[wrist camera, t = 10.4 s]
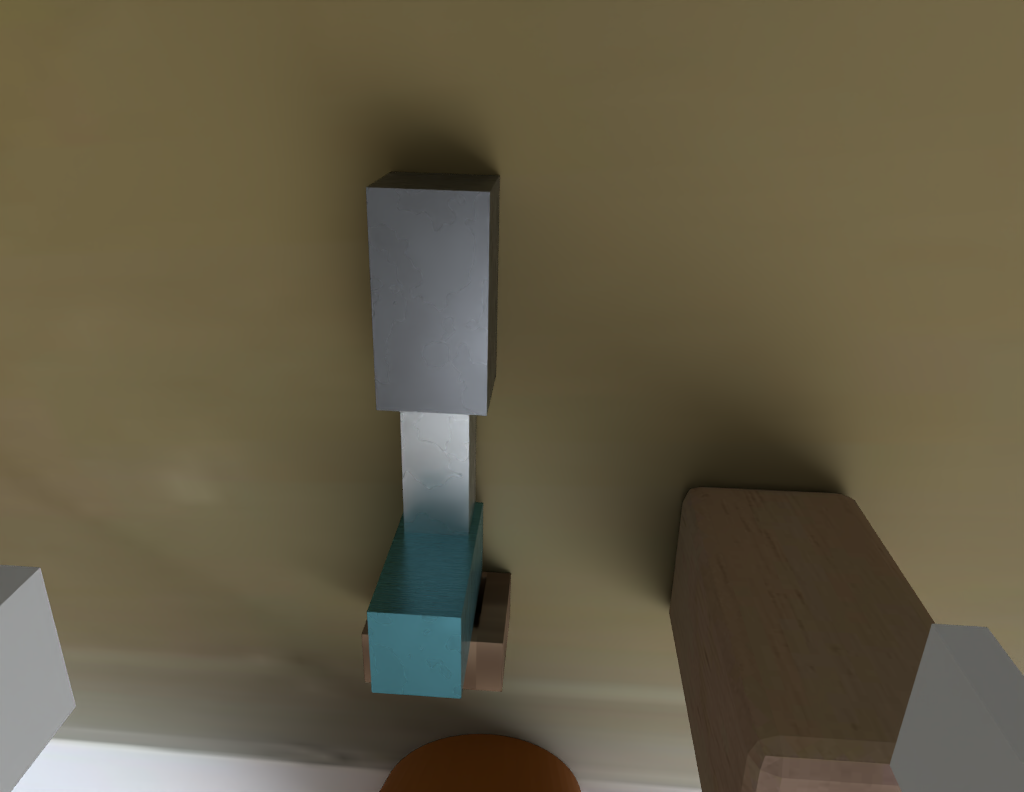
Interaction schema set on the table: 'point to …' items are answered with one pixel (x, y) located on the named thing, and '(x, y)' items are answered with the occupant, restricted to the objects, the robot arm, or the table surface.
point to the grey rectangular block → (434, 290)
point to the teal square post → (430, 563)
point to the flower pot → (480, 767)
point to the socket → (479, 635)
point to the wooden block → (792, 641)
